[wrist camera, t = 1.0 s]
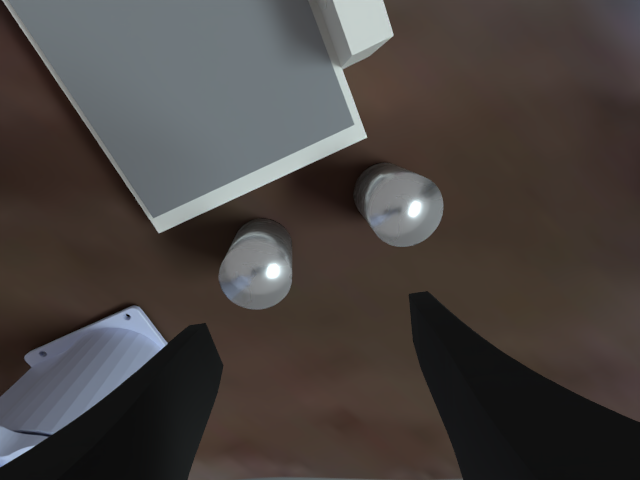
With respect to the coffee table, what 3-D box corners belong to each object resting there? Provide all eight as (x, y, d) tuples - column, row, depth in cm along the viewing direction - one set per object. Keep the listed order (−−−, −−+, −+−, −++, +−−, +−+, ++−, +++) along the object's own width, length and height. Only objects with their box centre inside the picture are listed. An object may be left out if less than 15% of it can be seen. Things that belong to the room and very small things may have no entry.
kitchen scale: (168, 225, 22) (133, 254, 17) (-15, -54, 16) (-142, -126, 11) (390, 122, 20) (420, 123, 16) (277, -217, 15) (270, -372, 10)
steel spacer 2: (365, 229, 23) (384, 257, 18) (344, 177, 21) (358, 193, 17) (418, 206, 22) (451, 228, 18) (400, 152, 21) (431, 161, 16)
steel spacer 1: (251, 279, 23) (241, 319, 19) (223, 232, 22) (205, 262, 17) (301, 257, 23) (303, 292, 18) (276, 208, 22) (271, 233, 17)
